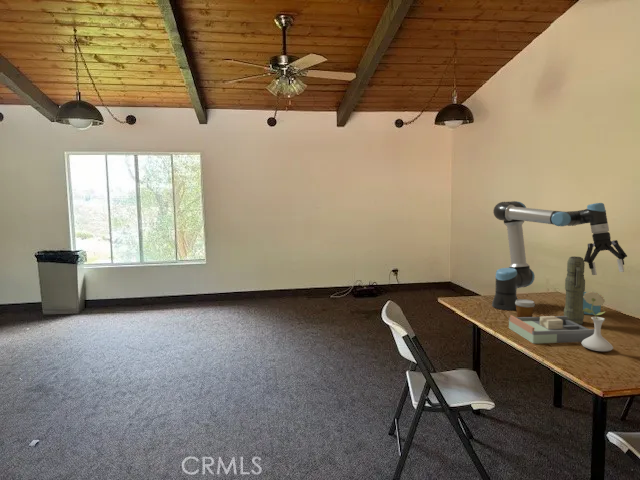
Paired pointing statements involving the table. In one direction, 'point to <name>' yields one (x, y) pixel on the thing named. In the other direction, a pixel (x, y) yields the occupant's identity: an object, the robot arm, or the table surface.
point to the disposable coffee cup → (524, 307)
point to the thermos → (575, 290)
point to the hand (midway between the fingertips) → (608, 273)
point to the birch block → (551, 322)
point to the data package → (586, 305)
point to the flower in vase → (596, 325)
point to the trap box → (548, 330)
